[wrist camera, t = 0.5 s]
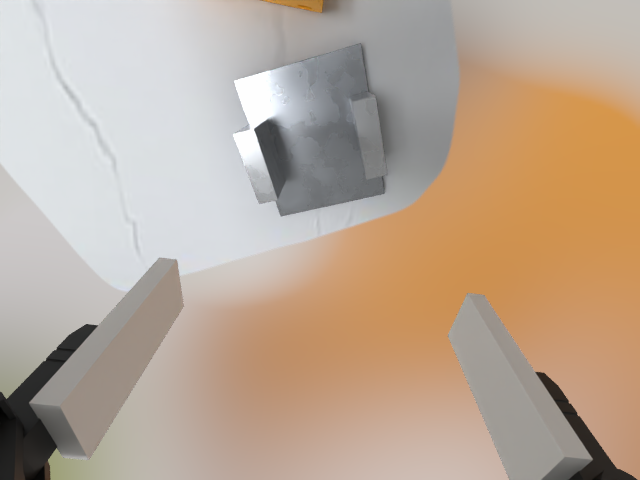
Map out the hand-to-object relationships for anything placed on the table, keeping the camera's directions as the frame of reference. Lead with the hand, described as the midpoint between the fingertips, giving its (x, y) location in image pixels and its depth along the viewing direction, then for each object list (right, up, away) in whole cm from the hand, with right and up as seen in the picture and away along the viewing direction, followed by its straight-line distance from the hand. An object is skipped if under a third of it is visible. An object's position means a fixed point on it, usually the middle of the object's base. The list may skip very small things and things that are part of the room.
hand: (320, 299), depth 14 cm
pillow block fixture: (-1, +14, +20) cm, 25 cm away
